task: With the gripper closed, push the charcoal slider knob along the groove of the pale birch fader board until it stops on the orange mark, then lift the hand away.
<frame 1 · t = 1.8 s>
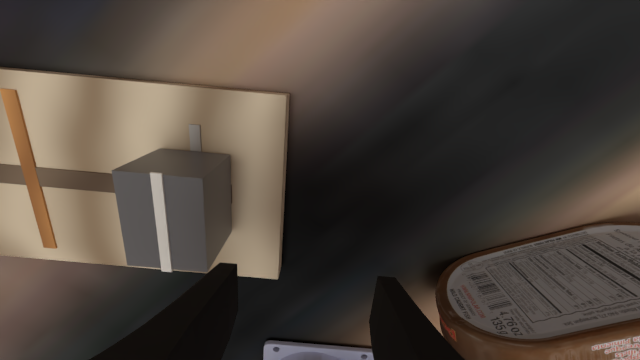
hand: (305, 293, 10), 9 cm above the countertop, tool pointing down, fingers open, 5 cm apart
tin: (525, 248, 21), on the countertop
fader board: (116, 173, 19), on the countertop
fader knob: (181, 206, 16), point 4 cm above the countertop, slide at 0.0 cm
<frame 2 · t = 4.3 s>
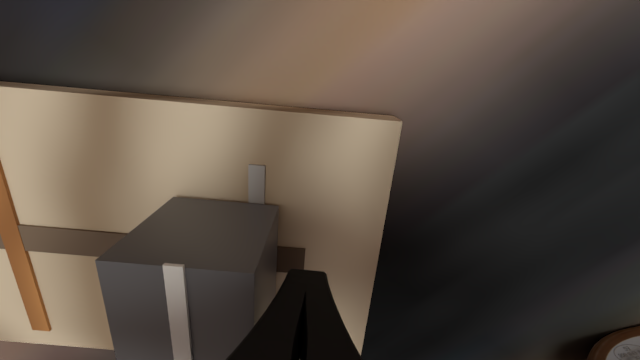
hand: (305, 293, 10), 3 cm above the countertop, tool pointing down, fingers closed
fader board: (133, 226, 14), on the countertop
fader knob: (208, 292, 10), point 4 cm above the countertop, slide at 1.1 cm, touching gripper
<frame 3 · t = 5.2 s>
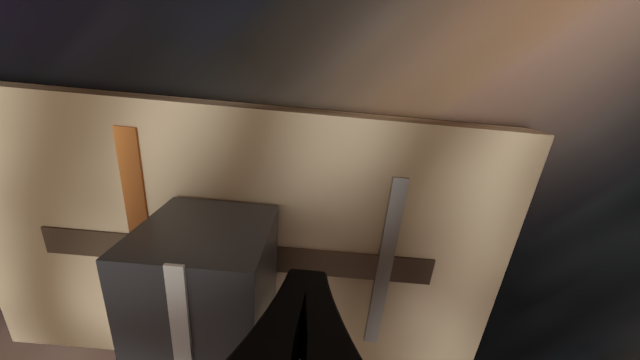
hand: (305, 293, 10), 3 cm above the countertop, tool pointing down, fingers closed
fader board: (248, 236, 14), on the countertop
fader knob: (208, 292, 10), point 4 cm above the countertop, slide at 6.4 cm, touching gripper
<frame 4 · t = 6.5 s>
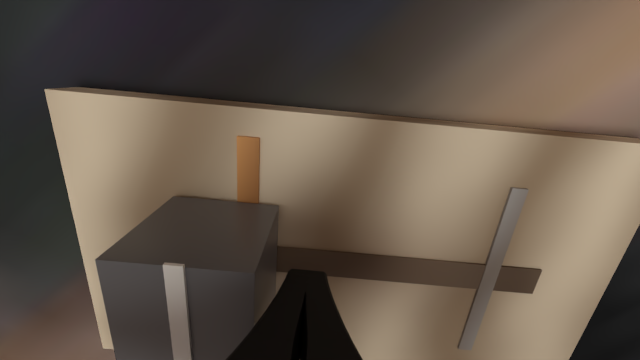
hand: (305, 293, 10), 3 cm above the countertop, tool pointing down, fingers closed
fader board: (342, 244, 14), on the countertop
fader knob: (208, 292, 10), point 4 cm above the countertop, slide at 10.8 cm, touching gripper
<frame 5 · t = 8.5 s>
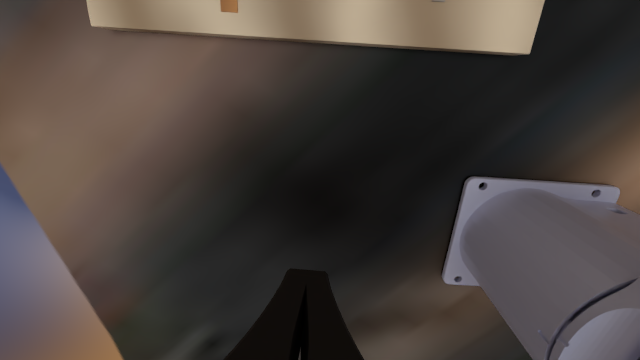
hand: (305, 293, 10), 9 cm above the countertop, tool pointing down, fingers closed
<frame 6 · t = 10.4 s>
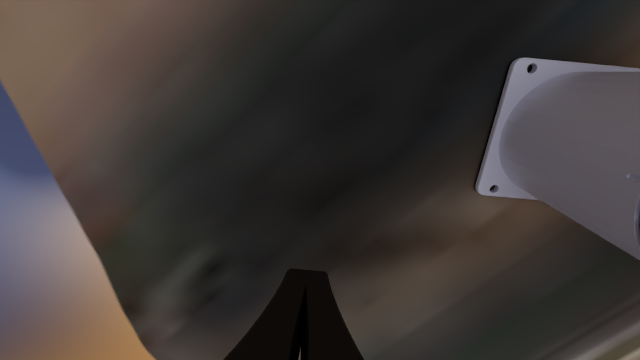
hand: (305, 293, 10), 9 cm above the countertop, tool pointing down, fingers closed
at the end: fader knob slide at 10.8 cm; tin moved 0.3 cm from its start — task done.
